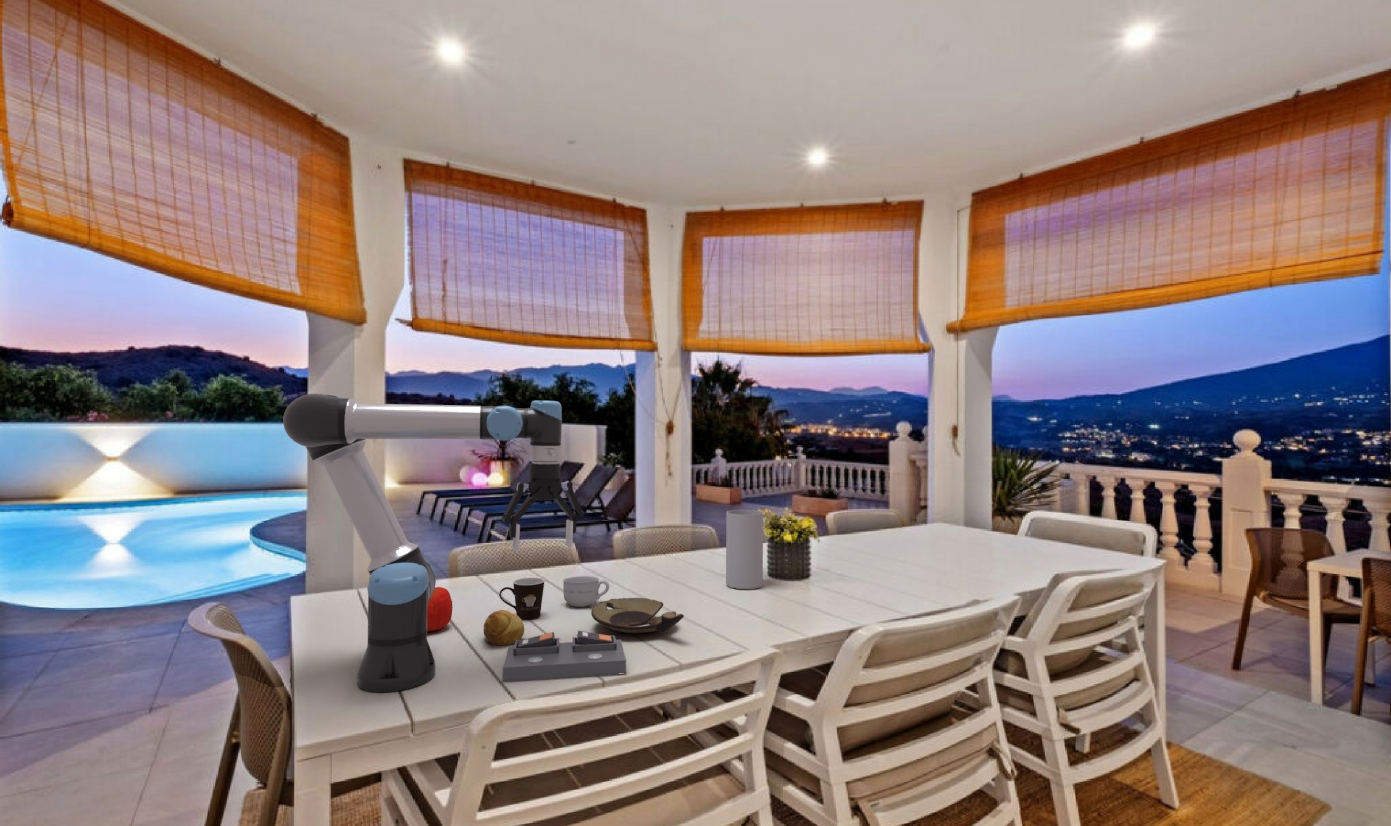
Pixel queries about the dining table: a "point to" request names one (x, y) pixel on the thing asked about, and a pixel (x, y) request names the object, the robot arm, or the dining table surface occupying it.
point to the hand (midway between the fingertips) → (543, 548)
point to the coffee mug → (527, 597)
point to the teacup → (583, 590)
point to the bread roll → (503, 628)
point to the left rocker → (537, 641)
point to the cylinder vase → (744, 549)
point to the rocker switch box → (563, 660)
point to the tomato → (439, 609)
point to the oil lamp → (634, 615)
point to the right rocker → (593, 638)
